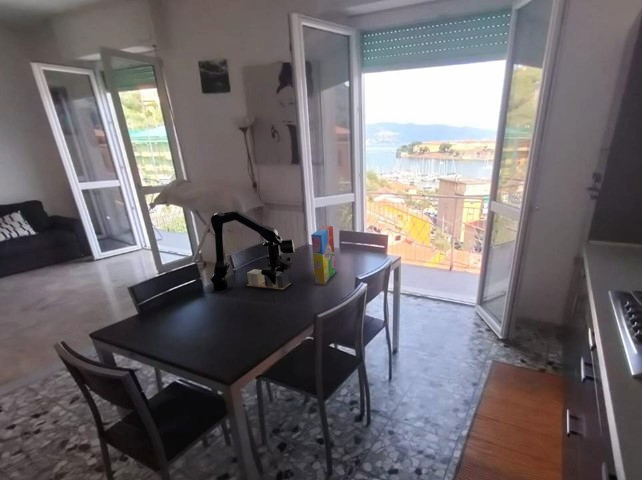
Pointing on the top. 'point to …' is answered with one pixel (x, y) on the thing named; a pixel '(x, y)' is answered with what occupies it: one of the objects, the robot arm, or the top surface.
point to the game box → (323, 254)
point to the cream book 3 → (276, 279)
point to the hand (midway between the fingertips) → (277, 282)
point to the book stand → (266, 285)
